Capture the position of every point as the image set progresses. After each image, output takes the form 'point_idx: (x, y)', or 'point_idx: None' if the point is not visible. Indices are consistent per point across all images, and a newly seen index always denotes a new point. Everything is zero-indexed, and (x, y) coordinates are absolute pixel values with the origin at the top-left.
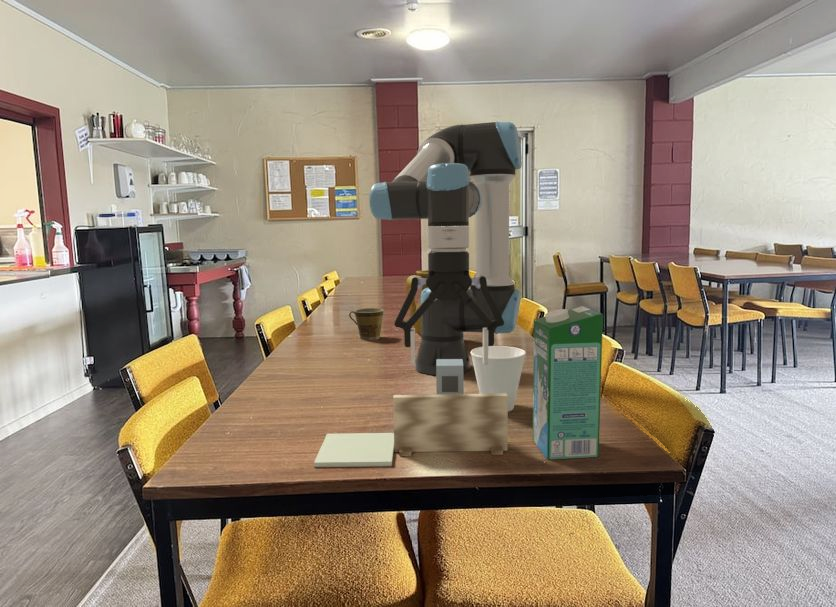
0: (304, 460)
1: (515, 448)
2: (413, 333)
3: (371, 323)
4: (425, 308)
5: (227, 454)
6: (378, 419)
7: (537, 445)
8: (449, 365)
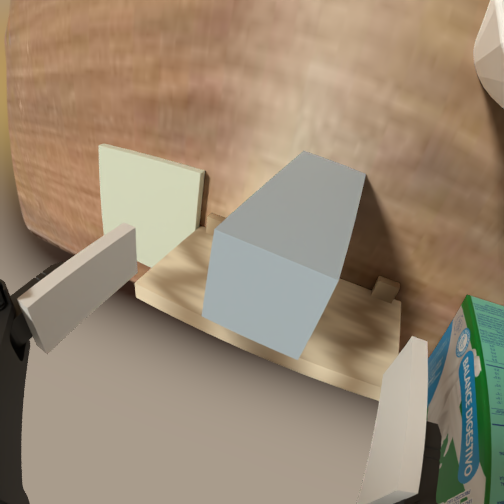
0: (96, 217)
1: (413, 311)
2: (51, 345)
3: None
4: (15, 453)
5: (35, 173)
6: (179, 56)
7: (451, 322)
8: (248, 336)
